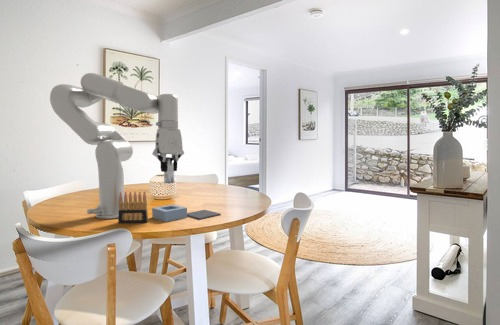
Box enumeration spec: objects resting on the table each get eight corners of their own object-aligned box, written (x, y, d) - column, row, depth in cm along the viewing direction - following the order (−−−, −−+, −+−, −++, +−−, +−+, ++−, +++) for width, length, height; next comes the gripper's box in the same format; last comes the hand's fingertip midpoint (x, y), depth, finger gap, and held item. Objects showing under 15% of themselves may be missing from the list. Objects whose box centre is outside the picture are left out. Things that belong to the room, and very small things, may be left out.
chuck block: (165, 222, 122) (165, 211, 122) (152, 217, 129) (152, 207, 129) (187, 217, 129) (186, 207, 129) (173, 213, 136) (173, 204, 136)
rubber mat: (199, 219, 126) (199, 218, 126) (183, 215, 133) (183, 213, 133) (220, 215, 134) (220, 213, 134) (204, 210, 141) (204, 209, 141)
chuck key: (170, 183, 124) (169, 157, 123) (159, 182, 130) (159, 157, 129) (178, 183, 127) (178, 157, 126) (168, 181, 132) (167, 156, 132)
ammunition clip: (148, 221, 123) (147, 191, 122) (147, 223, 121) (146, 191, 120) (119, 222, 122) (119, 191, 121) (118, 223, 120) (117, 192, 119)
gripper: (154, 124, 118) (154, 173, 119) (191, 126, 130) (191, 170, 131) (144, 125, 123) (145, 172, 124) (181, 126, 135) (181, 169, 136)
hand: (169, 170), depth 128 cm, fingers closed on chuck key, 4 cm apart
